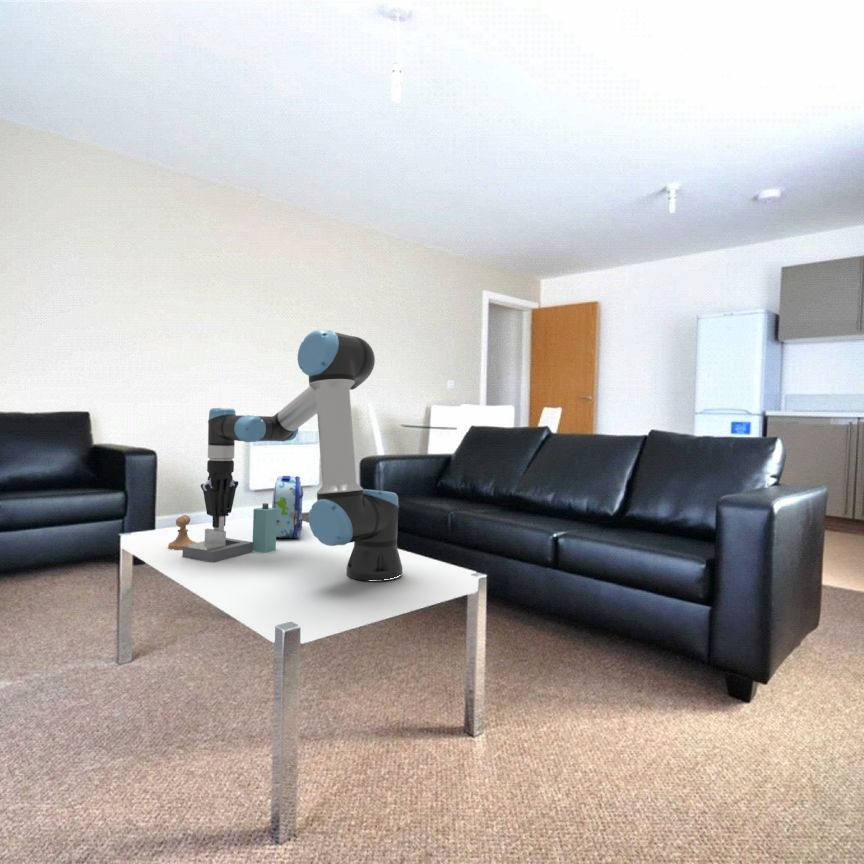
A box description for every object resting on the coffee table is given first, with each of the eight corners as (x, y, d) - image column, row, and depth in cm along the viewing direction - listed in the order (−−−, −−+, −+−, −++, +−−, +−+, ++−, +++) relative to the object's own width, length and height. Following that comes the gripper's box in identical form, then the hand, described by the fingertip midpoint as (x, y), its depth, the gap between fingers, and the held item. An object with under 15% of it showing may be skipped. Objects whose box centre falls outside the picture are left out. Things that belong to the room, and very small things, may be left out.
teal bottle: (275, 549, 184) (277, 503, 184) (264, 552, 179) (266, 505, 179) (263, 547, 186) (264, 502, 186) (252, 550, 182) (253, 503, 181)
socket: (252, 551, 180) (252, 542, 179) (212, 562, 165) (213, 551, 165) (223, 546, 185) (223, 537, 185) (182, 556, 170) (182, 546, 170)
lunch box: (302, 541, 198) (304, 479, 197) (269, 541, 195) (271, 479, 195) (300, 527, 223) (302, 472, 223) (271, 527, 220) (273, 472, 220)
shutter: (225, 545, 172) (225, 531, 172) (206, 550, 166) (207, 535, 166) (207, 543, 176) (208, 528, 175) (188, 547, 169) (188, 532, 169)
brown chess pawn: (200, 514, 187) (193, 518, 179) (199, 544, 187) (192, 550, 179) (173, 513, 186) (165, 518, 178) (173, 544, 186) (164, 549, 178)
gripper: (227, 457, 182) (225, 533, 182) (194, 459, 170) (192, 539, 170) (246, 459, 178) (243, 535, 179) (213, 461, 167) (210, 543, 167)
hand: (218, 537), depth 175 cm, fingers closed
